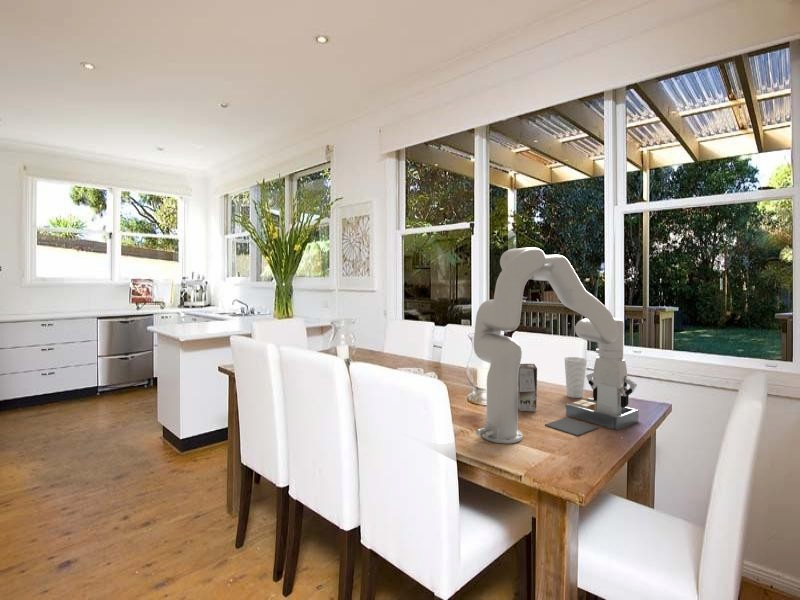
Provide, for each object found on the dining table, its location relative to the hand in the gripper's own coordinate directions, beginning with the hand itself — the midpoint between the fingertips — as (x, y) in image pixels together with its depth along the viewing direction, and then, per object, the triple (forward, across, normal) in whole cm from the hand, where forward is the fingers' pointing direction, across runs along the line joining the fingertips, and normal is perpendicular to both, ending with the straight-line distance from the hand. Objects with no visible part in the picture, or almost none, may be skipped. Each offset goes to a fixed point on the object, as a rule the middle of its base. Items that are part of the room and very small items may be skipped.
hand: (610, 403), depth 152 cm
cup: (+6, -24, +17) cm, 30 cm away
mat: (+6, -4, -16) cm, 18 cm away
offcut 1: (+6, -11, 0) cm, 12 cm away
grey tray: (+6, -3, 0) cm, 7 cm away
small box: (+6, 0, 0) cm, 6 cm away
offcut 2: (+6, -8, 0) cm, 10 cm away
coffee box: (+6, -26, -11) cm, 29 cm away
